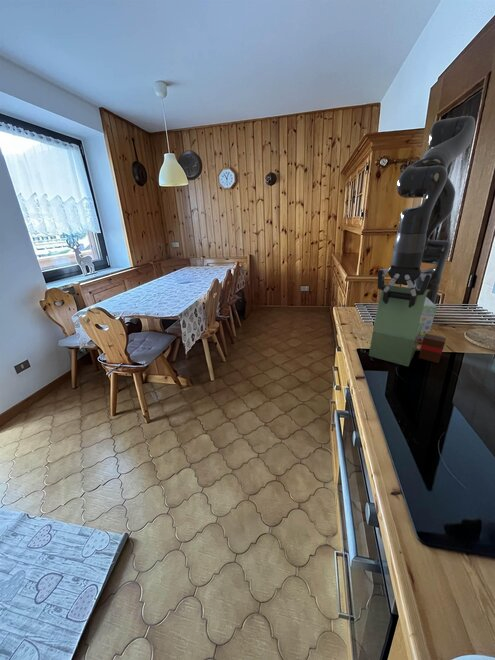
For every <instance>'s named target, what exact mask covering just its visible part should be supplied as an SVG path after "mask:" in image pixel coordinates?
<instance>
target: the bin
mask: <svg viewBox="0 0 495 660" xmlns="http://www.w3.org/2000/svg"><path fill="white" fill-rule="evenodd" d="M422 325H423V324H420V323H419V325H418V329H417V333H416V337H415V339H410V338H405V337H401V336H396V335H392V334H387V333H383V332H378V331H374V330H373V329H372V334H371V338H370V339H371V340H370V346H369V352H368V357H372V358H375V359H379V360H383V361H385V362H390V363H392V364H395V365H400V366H404V367H407V368H408V367H409V366H410V364H411V362H412V360H413V357H414V355H415V353H416V351H417V349H418V345H419V343H418V341H419V337H420V333H421V329H422Z"/></svg>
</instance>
